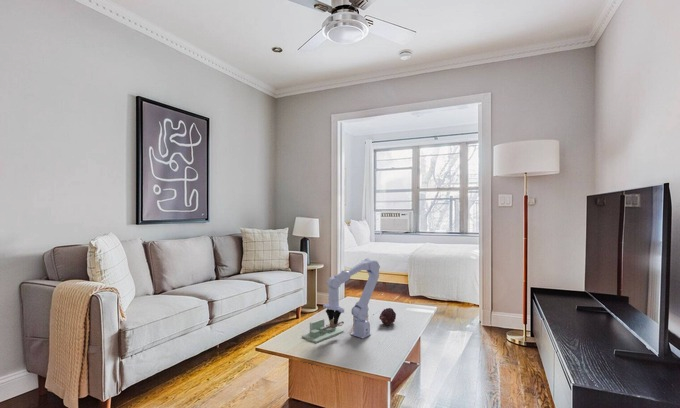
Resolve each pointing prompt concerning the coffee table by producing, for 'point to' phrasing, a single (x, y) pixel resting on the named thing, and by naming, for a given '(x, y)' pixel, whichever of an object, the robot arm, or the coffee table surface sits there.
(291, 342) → the coffee table surface
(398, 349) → the coffee table surface
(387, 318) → the pine cone
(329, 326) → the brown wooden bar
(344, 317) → the coffee table surface
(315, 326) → the mint green baseplate
